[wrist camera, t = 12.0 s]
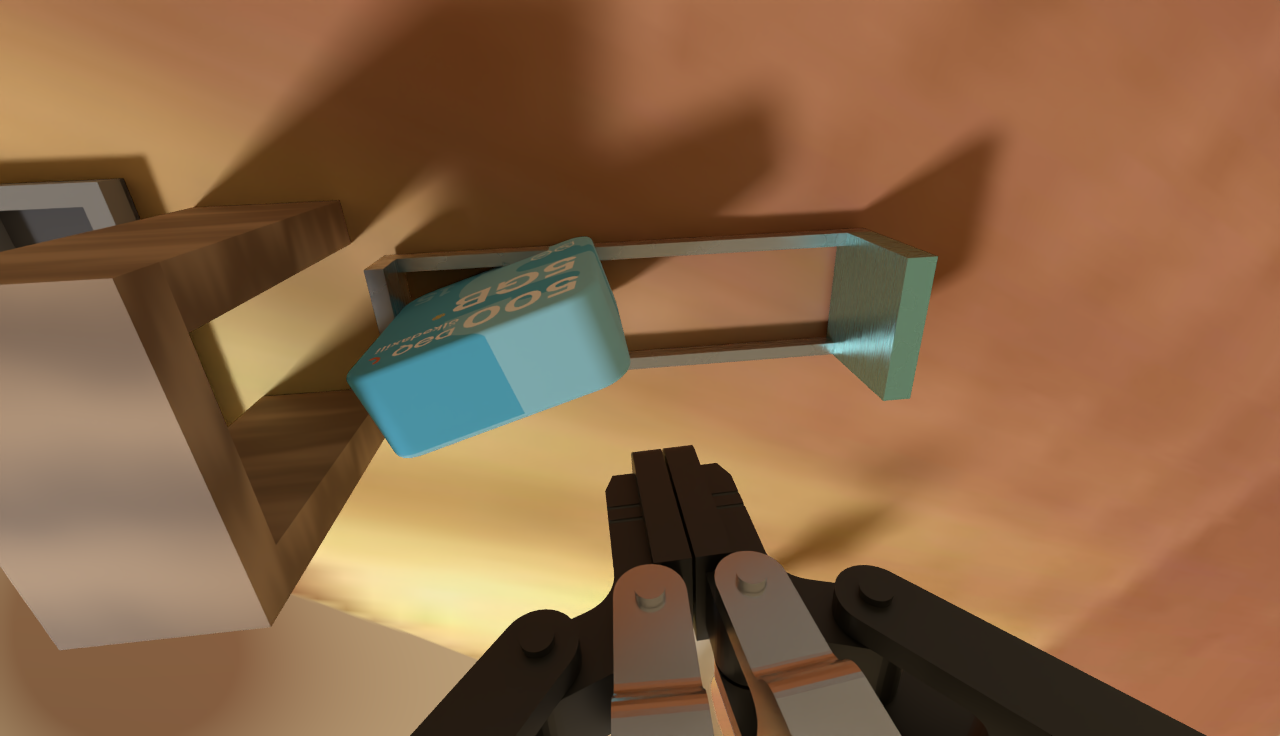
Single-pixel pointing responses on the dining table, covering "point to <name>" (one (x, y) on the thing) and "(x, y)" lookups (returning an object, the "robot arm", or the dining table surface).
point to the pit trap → (61, 209)
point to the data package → (493, 350)
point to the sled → (856, 335)
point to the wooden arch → (161, 429)
